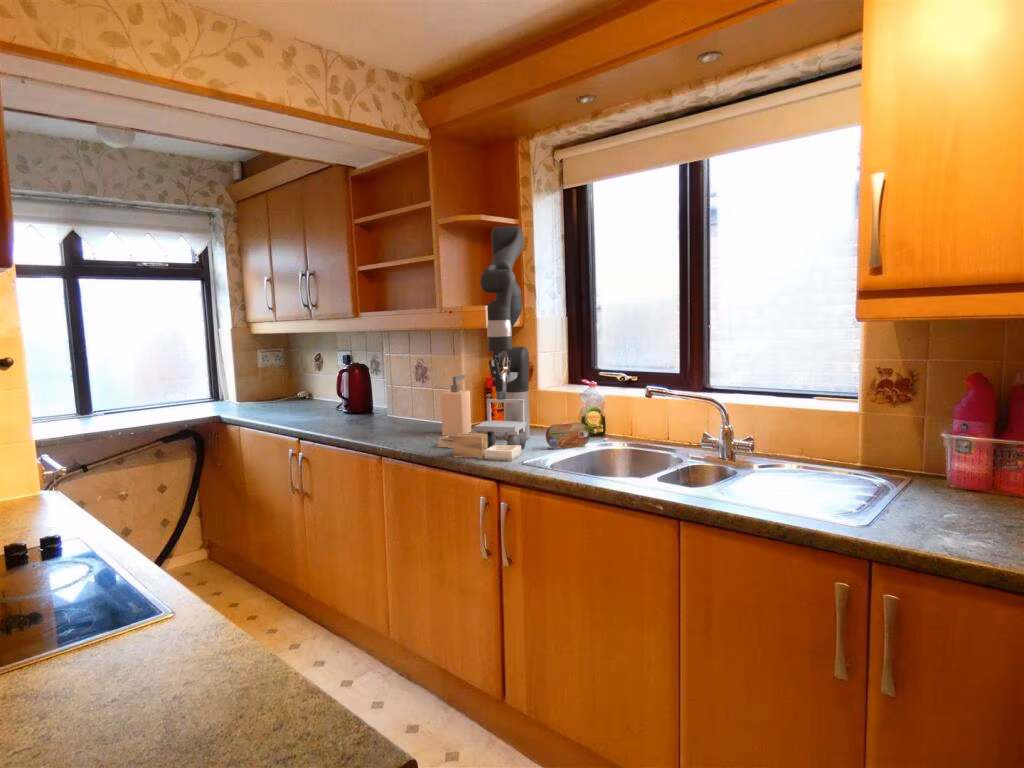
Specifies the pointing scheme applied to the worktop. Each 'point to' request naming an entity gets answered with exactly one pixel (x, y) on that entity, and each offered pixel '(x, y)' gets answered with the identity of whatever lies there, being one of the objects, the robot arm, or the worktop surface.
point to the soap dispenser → (455, 409)
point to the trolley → (504, 425)
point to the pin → (502, 394)
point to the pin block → (446, 441)
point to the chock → (469, 444)
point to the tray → (502, 452)
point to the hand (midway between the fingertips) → (501, 390)
